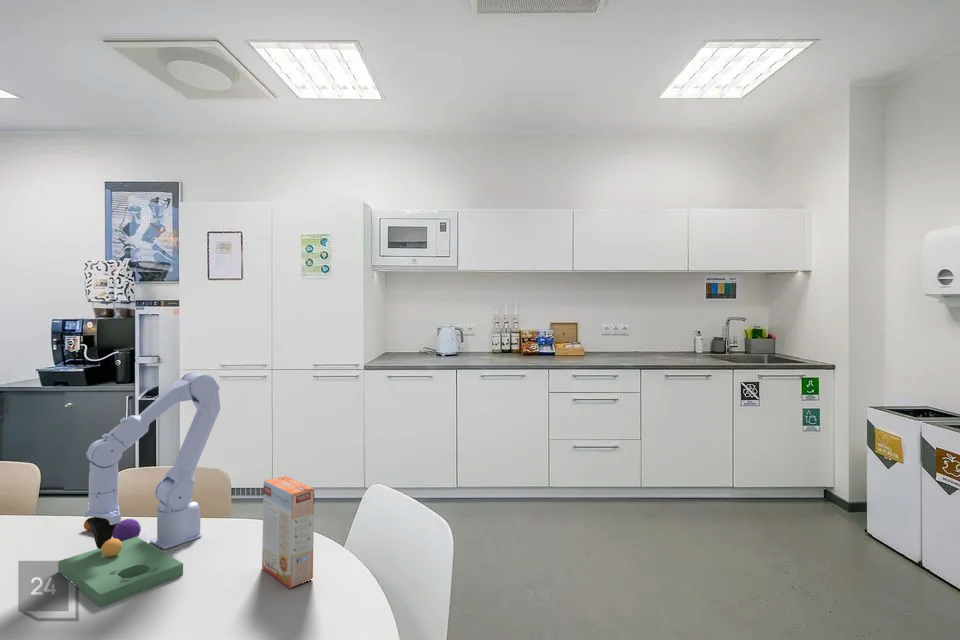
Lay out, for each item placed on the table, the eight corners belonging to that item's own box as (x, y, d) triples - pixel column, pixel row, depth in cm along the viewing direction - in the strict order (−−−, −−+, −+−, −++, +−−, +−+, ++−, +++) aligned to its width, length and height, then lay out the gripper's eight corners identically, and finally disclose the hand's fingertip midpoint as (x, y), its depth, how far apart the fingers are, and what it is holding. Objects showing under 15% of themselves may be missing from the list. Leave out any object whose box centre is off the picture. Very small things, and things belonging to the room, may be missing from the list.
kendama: (104, 510, 143) (147, 518, 134) (100, 533, 141) (143, 542, 133) (80, 513, 137) (123, 522, 129) (76, 537, 136) (119, 547, 127)
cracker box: (314, 580, 114) (315, 487, 114) (289, 590, 110) (290, 494, 110) (285, 559, 124) (286, 474, 123) (261, 568, 119) (262, 479, 119)
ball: (117, 550, 121) (118, 534, 121) (125, 555, 119) (125, 538, 119) (98, 557, 118) (98, 540, 118) (105, 561, 116) (105, 544, 116)
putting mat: (136, 546, 129) (136, 536, 129) (183, 574, 116) (183, 563, 116) (58, 571, 116) (58, 561, 116) (100, 606, 102) (100, 594, 102)
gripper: (72, 488, 122) (71, 544, 122) (95, 501, 114) (95, 561, 114) (106, 481, 128) (105, 534, 128) (131, 493, 120) (130, 550, 120)
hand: (103, 546), depth 121 cm, fingers closed
